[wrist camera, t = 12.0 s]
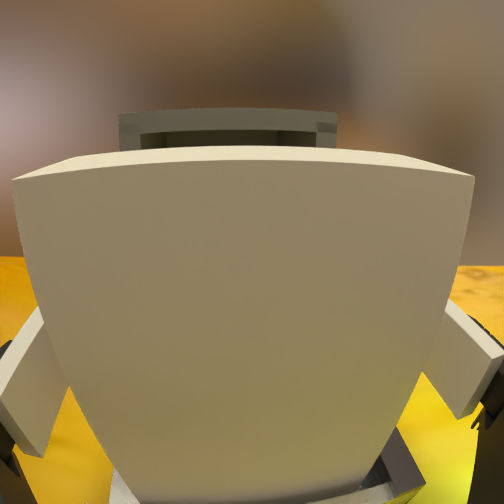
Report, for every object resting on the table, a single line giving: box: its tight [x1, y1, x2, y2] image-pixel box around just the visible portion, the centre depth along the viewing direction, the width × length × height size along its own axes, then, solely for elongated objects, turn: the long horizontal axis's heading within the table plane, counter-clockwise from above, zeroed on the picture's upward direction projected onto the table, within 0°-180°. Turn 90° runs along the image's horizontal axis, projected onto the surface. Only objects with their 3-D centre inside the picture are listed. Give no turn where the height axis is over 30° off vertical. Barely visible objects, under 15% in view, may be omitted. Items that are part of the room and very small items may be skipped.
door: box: [11, 146, 475, 504], centre depth 10 cm, size 10×4×16 cm, turn 97°
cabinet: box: [119, 108, 337, 152], centre depth 25 cm, size 13×12×18 cm
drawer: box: [84, 426, 426, 504], centre depth 13 cm, size 15×7×4 cm, turn 97°
